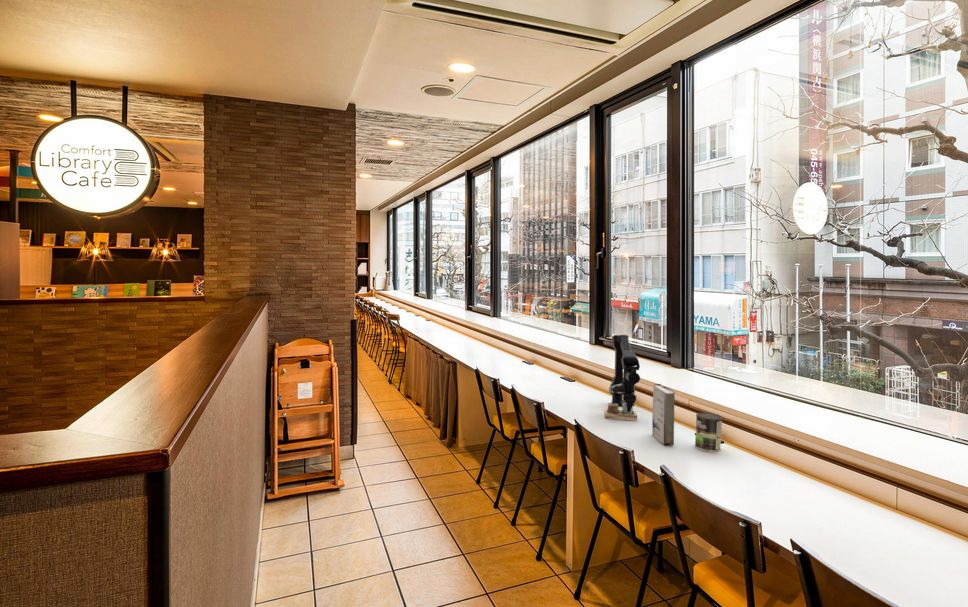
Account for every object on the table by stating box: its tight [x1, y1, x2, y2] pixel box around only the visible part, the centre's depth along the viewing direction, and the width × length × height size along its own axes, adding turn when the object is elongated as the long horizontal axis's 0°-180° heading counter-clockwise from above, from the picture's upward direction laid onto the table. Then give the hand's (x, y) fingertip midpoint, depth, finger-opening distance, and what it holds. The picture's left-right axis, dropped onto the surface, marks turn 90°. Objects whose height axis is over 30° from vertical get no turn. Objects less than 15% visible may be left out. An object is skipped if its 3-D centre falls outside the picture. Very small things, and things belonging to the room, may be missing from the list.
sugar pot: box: [622, 401, 634, 415], centre depth 263 cm, size 5×5×7 cm
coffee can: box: [694, 412, 723, 453], centre depth 219 cm, size 10×10×14 cm
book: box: [651, 383, 676, 446], centre depth 228 cm, size 16×6×24 cm, turn 178°
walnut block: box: [607, 402, 619, 414], centre depth 265 cm, size 5×5×5 cm
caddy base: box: [603, 408, 638, 421], centre depth 264 cm, size 9×16×2 cm, turn 78°
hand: (627, 409), depth 263 cm, fingers open, 9 cm apart
